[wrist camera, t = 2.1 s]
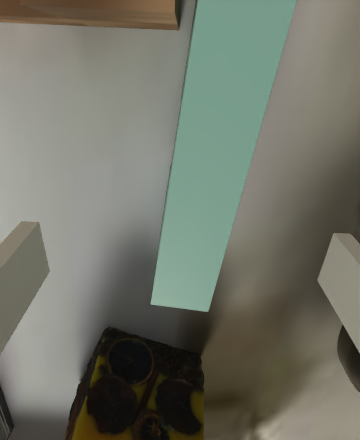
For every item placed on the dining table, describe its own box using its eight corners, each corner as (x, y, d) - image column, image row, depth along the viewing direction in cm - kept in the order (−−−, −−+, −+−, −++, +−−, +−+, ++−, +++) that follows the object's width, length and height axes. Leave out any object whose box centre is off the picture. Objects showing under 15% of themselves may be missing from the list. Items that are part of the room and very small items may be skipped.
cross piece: (196, -3, 16) (205, -49, 9) (252, 8, 16) (304, -28, 9) (161, 226, 22) (150, 304, 15) (201, 232, 23) (208, 311, 16)
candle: (165, 408, 34) (159, 532, 25) (77, 385, 32) (37, 510, 23) (205, 353, 29) (214, 481, 21) (105, 323, 28) (68, 448, 19)
